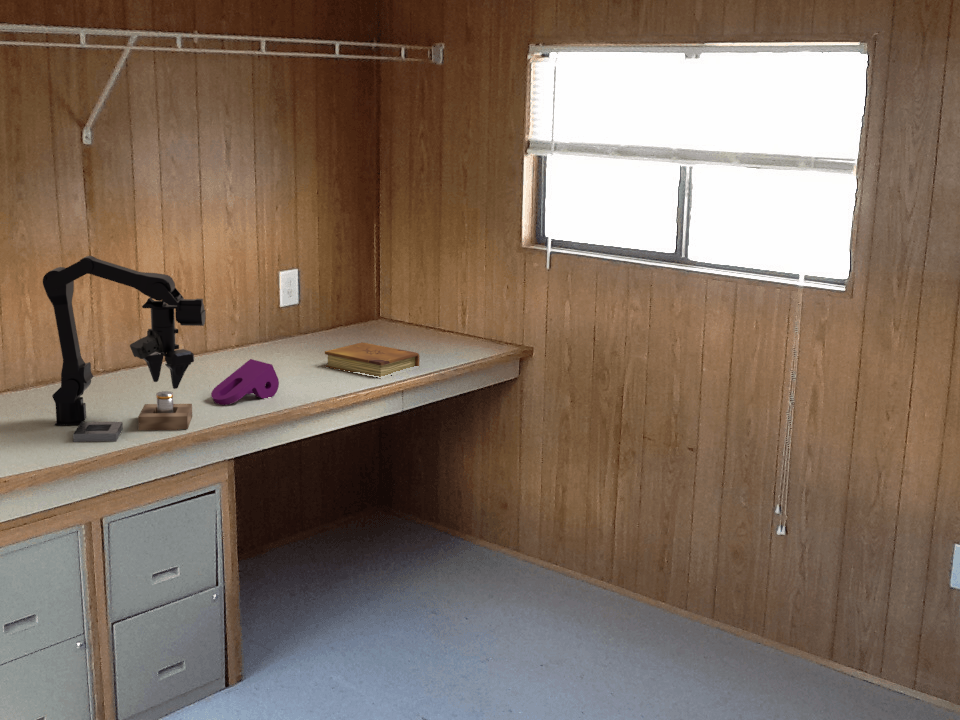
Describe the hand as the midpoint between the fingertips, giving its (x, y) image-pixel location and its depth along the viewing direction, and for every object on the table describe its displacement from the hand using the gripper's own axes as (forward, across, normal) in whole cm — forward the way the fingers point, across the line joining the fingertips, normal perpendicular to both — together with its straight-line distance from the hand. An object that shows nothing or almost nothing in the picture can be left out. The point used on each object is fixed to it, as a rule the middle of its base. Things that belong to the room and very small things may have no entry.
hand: (165, 385), depth 290 cm
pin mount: (+10, -2, -18) cm, 21 cm away
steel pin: (+10, 0, 0) cm, 10 cm away
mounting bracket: (+11, -8, +28) cm, 31 cm away
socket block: (+10, 0, 0) cm, 10 cm away
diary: (+11, -12, +80) cm, 82 cm away
